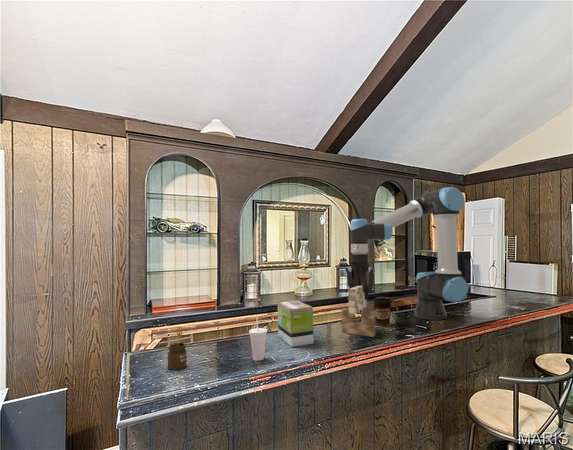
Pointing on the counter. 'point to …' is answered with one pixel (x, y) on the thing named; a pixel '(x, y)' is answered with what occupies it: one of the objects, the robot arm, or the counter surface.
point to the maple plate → (355, 299)
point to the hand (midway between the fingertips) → (361, 306)
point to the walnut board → (358, 323)
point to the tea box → (295, 323)
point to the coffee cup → (382, 310)
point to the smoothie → (258, 342)
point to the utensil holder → (177, 354)
